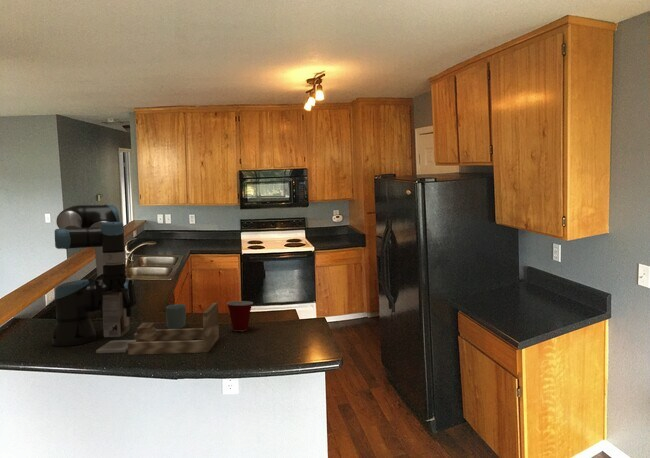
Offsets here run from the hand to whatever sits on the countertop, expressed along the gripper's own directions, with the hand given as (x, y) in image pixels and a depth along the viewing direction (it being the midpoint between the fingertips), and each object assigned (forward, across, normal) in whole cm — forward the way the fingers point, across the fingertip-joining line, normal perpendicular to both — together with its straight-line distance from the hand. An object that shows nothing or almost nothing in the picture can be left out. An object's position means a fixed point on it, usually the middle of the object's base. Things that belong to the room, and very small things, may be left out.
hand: (116, 325), depth 166 cm
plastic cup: (+8, +42, +19) cm, 47 cm away
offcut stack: (+8, +10, 0) cm, 13 cm away
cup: (+8, +14, +24) cm, 29 cm away
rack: (+8, +21, 0) cm, 23 cm away
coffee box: (+3, 0, 0) cm, 3 cm away
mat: (+8, 0, 0) cm, 8 cm away
